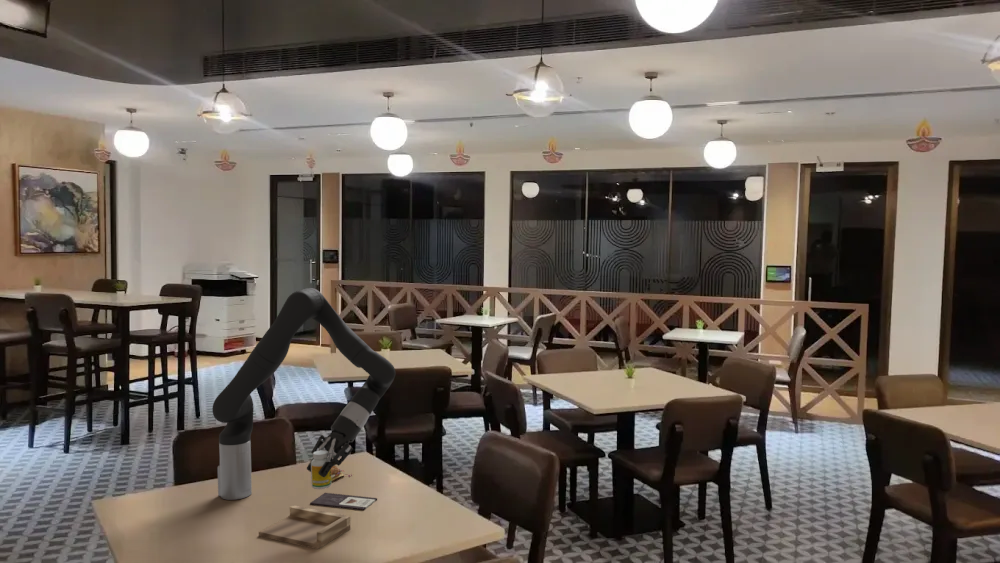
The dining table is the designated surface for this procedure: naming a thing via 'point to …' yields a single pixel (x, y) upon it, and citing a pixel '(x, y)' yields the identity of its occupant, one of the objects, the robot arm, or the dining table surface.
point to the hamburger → (336, 473)
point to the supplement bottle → (316, 465)
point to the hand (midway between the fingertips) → (315, 473)
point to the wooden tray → (308, 527)
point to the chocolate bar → (343, 501)
